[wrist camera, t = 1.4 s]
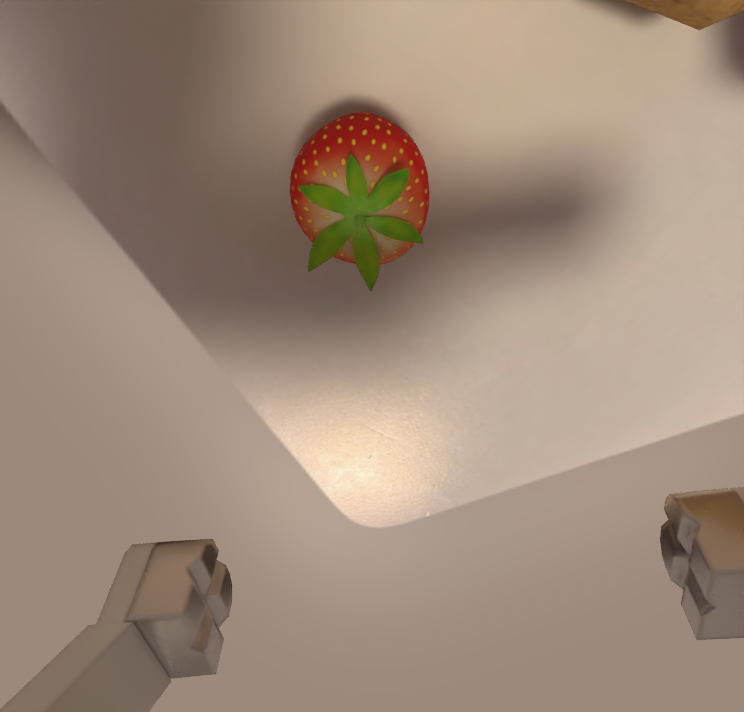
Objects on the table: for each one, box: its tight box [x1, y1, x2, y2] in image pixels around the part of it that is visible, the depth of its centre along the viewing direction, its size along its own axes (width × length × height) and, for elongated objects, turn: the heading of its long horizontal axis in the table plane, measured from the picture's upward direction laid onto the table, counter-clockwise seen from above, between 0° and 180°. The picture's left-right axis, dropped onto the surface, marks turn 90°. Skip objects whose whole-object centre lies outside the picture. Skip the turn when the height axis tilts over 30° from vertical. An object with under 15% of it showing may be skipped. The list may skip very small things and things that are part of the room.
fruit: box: [290, 113, 429, 291], centre depth 24 cm, size 5×5×8 cm
